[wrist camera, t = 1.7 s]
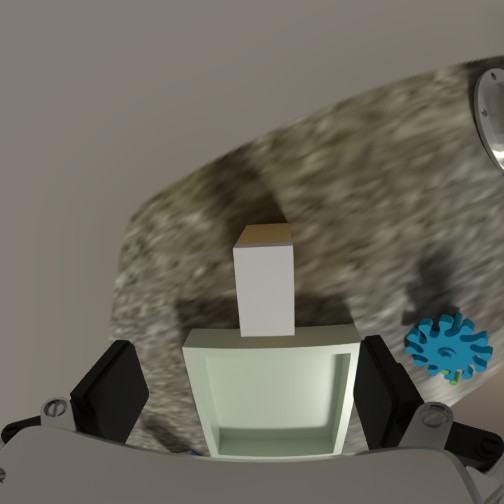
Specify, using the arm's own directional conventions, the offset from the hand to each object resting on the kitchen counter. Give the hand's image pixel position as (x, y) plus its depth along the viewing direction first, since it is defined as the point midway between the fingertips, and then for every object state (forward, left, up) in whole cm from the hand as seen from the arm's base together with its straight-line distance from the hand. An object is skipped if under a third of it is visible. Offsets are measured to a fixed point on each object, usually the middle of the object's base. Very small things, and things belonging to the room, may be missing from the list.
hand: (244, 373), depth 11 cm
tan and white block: (-1, 0, -15) cm, 15 cm away
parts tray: (-1, +16, -15) cm, 22 cm away
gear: (-19, +10, -16) cm, 26 cm away
